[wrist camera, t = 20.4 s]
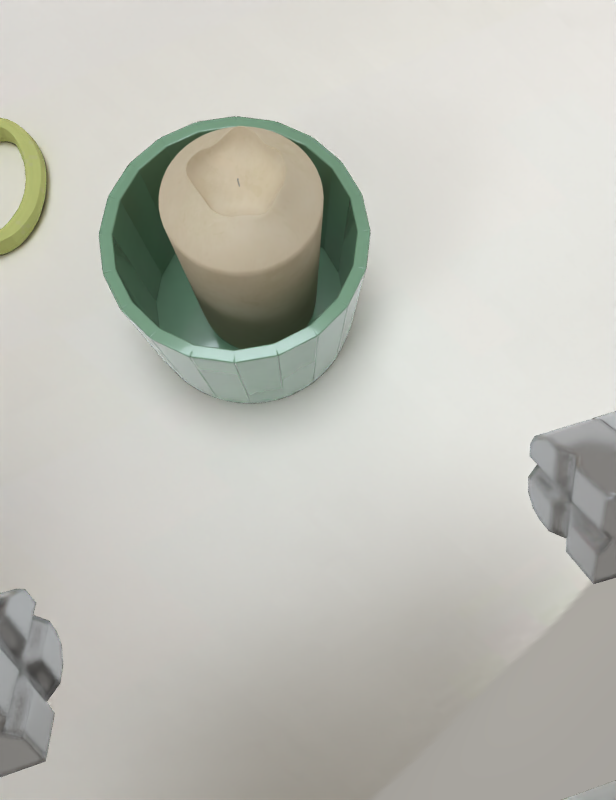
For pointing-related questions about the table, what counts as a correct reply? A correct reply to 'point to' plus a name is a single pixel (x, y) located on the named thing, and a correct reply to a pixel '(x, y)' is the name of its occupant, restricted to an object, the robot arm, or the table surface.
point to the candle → (246, 231)
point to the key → (34, 187)
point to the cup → (174, 297)
